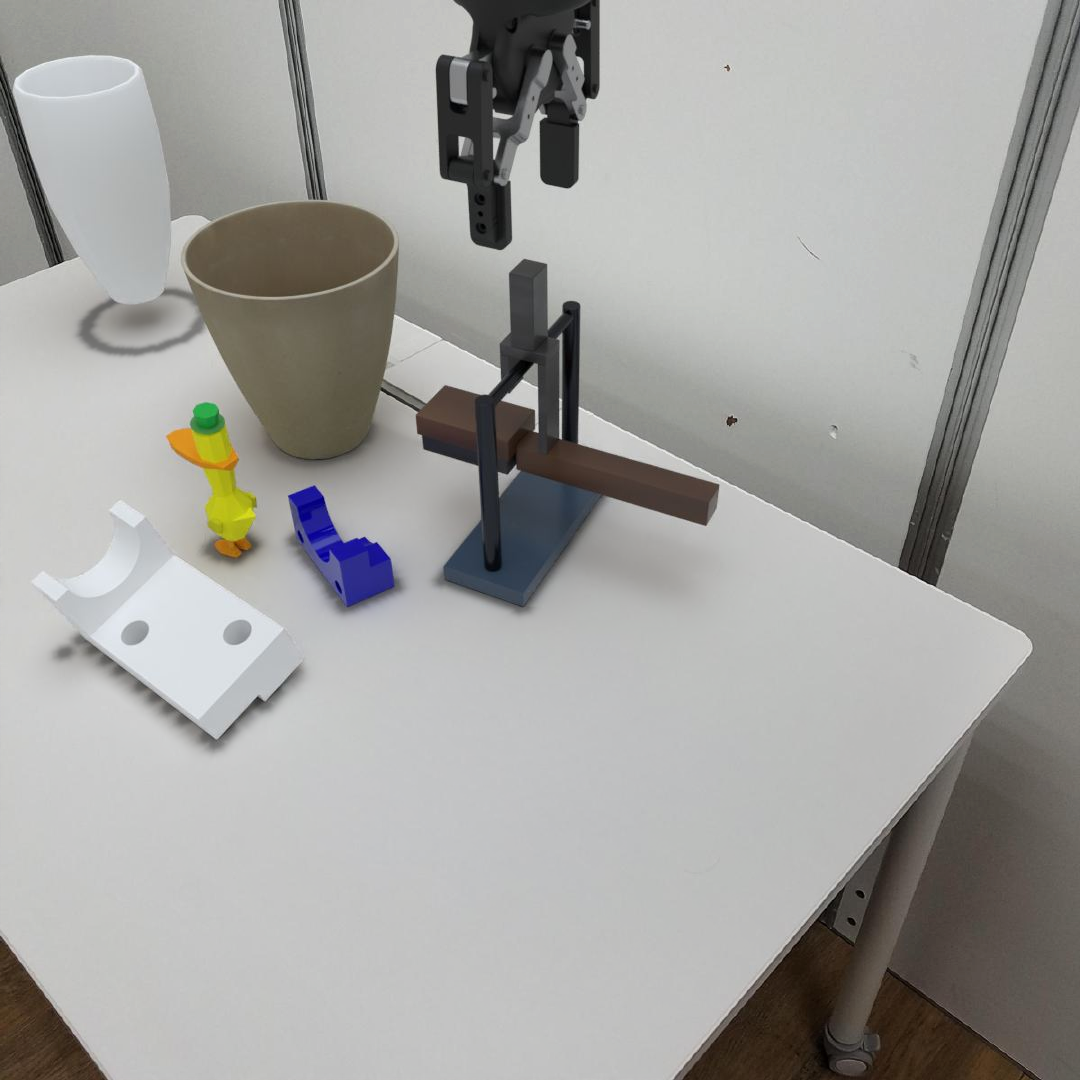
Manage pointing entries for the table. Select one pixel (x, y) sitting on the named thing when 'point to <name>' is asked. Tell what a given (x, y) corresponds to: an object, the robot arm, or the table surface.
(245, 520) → the toy figure
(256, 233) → the plant pot
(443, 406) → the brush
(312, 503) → the cable holder
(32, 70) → the cup
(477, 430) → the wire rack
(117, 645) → the bracket
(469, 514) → the table surface
